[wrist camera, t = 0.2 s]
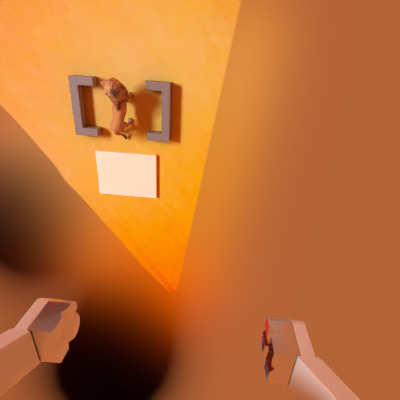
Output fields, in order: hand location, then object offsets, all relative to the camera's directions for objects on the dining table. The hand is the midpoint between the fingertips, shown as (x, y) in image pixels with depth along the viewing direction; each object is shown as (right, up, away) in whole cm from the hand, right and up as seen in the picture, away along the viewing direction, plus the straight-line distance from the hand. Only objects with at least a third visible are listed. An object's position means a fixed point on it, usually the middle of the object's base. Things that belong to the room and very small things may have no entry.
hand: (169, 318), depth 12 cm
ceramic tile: (-15, +11, +50) cm, 53 cm away
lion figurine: (-14, +23, +44) cm, 52 cm away
